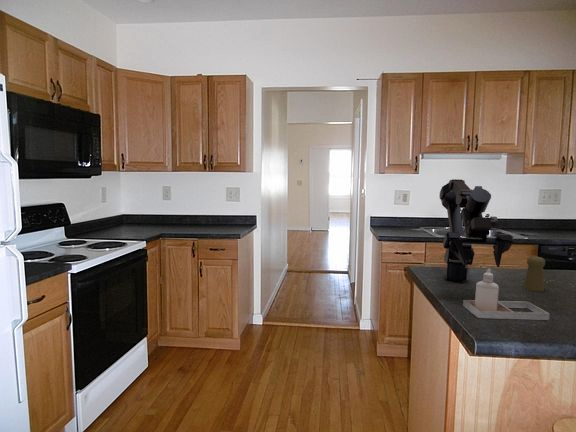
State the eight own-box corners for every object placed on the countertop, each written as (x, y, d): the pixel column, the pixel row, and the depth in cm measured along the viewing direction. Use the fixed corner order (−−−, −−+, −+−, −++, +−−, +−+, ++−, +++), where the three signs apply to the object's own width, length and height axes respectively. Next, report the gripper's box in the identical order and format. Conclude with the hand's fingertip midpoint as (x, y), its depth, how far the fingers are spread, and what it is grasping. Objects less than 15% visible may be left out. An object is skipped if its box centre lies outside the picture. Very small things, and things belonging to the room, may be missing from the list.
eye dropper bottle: (491, 315, 105) (495, 272, 104) (471, 309, 110) (474, 267, 108) (499, 312, 108) (503, 270, 106) (479, 306, 112) (482, 265, 111)
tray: (478, 318, 104) (478, 311, 104) (463, 305, 113) (463, 299, 113) (549, 320, 103) (549, 313, 103) (527, 307, 113) (528, 301, 113)
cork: (547, 292, 128) (550, 259, 127) (527, 290, 130) (530, 258, 128) (539, 286, 134) (542, 255, 133) (520, 285, 135) (523, 254, 134)
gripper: (447, 205, 119) (453, 248, 109) (514, 207, 115) (526, 252, 106) (440, 227, 127) (445, 268, 118) (502, 229, 124) (512, 272, 115)
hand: (481, 265), depth 114 cm, fingers open, 9 cm apart
